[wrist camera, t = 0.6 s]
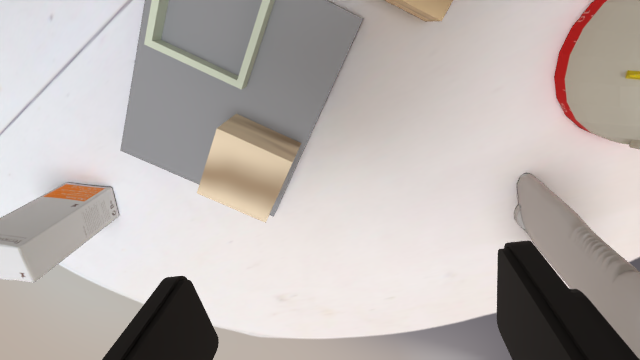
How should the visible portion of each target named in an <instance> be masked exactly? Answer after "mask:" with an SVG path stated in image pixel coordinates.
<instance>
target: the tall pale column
mask: <svg viewBox="0 0 640 360" xmlns="http://www.w3.org/2000/svg"><path fill="white" fill-rule="evenodd" d="M517 192H518V203H519V205H518V206H517V207H516V209H515V212H514V217H515V220H516V222H517V223H518V225H519V226H520V227H521V228H523V229H524V230H526V232H527V233H528V234H529V236H530V237H531V239H532V241H533V243H534V244H535V245H536V247H537V248H538V249H539V251H540V252H541V253H542V254H543V256H544V257H545V258H546V259H547V261H548V262H549V263H550V264H551V265H552V267H553V268H554V269H555V270H556V271H557V273H558V274H559V275H560V276H561V278H562V279H563V280H564V281H565V282H566V284H567V285H568V286H569V287H570V288H571V289H578V290H580V291H581V292H583V293H584V294H585V295H586V296H587V298H588V299H589V300H590V301H591V302H592V303H593V305H594V306H595V307H596V308H597V309H598V311H599V312H600V313H601V314H602V315H603V317H604V318H605V319H606V320H607V321H608V323H609V324H610V325H611V326H612V327H613V328H614V330H615V331H616V332H617V333H618V334H619V336H620V337H621V338H622V339H623V340H624V342H625V343H626V344H627V345H628V346H629V348H630V349H631V350H632V351H633V352H634V354H635V355H636V356H637V357H638V358H639V359H640V272H639V271H638V270H637V269H636V268H635V267H634V266H632V265H631V264H630V263H629V262H627V261H626V260H625V259H624V258H623V257H621V256H620V255H619V254H618V253H616V252H615V251H614V250H613V249H612V248H611V247H610V246H609V245H607V244H606V243H605V242H604V241H603V240H602V239H601V238H600V237H598V236H597V235H596V234H595V233H594V232H593V231H592V230H591V229H590V228H589V227H588V225H587V224H586V223H585V222H584V221H583V220H582V219H581V218H580V216H579V215H578V214H577V213H576V212H575V211H573V210H572V209H571V208H570V207H569V206H568V205H567V204H566V203H564V202H563V201H562V200H561V199H560V198H559V197H558V196H557V195H555V194H554V193H553V192H552V191H551V190H550V189H549V188H547V187H546V186H545V185H544V184H543V183H542V182H541V181H540V180H538V179H537V178H536V177H534V176H533V175H532V174H530V173H524V174H523V175H522V176H520V178H519V180H518V183H517Z"/></svg>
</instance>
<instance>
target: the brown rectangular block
mask: <svg viewBox="0 0 640 360" xmlns="http://www.w3.org/2000/svg"><path fill="white" fill-rule="evenodd" d="M300 145H301V143H300V142H297V141H295V140H293V139H291V138H289V137H287V136H284V135H282V134H280V133H278V132H276V131H273V130H271V129H269V128H267V127H265V126H263V125H260V124H258V123H256V122H254V121H252V120H249V119H247V118H245V117H243V116H241V115H238V114H235V115H234V116H233V117H231V118H230V119H228V120H227V121H226V122H224V123H223V124H222V125H220V126H219V127H218V128H217V129H216V132H215V136H214V139H213V142H212V145H211V149H210V152H209V155H208V159H207V162H206V165H205V168H204V172H203V175H202V178H201V181H200V185H199V188H198V191H197V193H198V194H200V195H202V196H205V197H207V198H209V199H212V200H214V201H216V202H219V203H221V204H223V205H226V206H228V207H230V208H233V209H235V210H237V211H240V212H242V213H244V214H247V215H249V216H251V217H254V218H256V219H258V220H261V221H263V222H265V223H266V221H267V218H268V216H269V214H270V212H271V210H272V208H273V205H274V203H275V201H276V199H277V197H278V195H279V192H280V190H281V188H282V186H283V183H284V181H285V179H286V177H287V174H288V172H289V170H290V168H291V165H292V163H293V161H294V159H295V156H296V154H297V152H298V150H299V147H300Z"/></svg>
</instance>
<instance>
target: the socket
mask: <svg viewBox="0 0 640 360" xmlns="http://www.w3.org/2000/svg"><path fill="white" fill-rule="evenodd" d="M274 1H275V0H262V3H261V6H260V9H259V12H258V15H257V19H256V22H255V25H254V28H253V31H252V35H251V38H250V41H249V44H248V47H247V50H246V54H245V57H244V60H243V63H242V66H241V70H240V73H239V76H237V75H235V74H233V73H231V72H229V71H227V70H224V69H222V68H220V67H218V66H216V65H214V64H212V63H209V62H207V61H205V60H203V59H201V58H199V57H197V56H195V55H192V54H190V53H188V52H186V51H184V50H182V49H180V48H178V47H175V46H173V45H171V44H169V43H167V42H165V41H163V40H161V38H162V33H163V28H164V22H165V17H166V12H167V7H168V2H169V0H152V1H151V7H150V13H149V19H148V25H147V30H146V36H145V42H144V45H147V46H149V47H151V48H153V49H155V50H157V51H160V52H162V53H164V54H166V55H168V56H170V57H172V58H175V59H177V60H179V61H181V62H183V63H185V64H187V65H190V66H192V67H194V68H196V69H198V70H200V71H202V72H205V73H207V74H209V75H211V76H213V77H215V78H218V79H220V80H222V81H224V82H226V83H228V84H230V85H233V86H235V87H237V88H239V89H243V88H245V87H246V86H247V83H248V80H249V77H250V74H251V71H252V68H253V65H254V62H255V59H256V56H257V53H258V50H259V47H260V44H261V41H262V38H263V35H264V32H265V29H266V26H267V23H268V20H269V17H270V14H271V11H272V8H273V4H274Z"/></svg>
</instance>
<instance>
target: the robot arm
mask: <svg viewBox="0 0 640 360" xmlns="http://www.w3.org/2000/svg"><path fill="white" fill-rule="evenodd" d="M497 324H498V328H499V331H500V333H501V336H502V338H503V340H504V342H505V344H506V346H507V349H508V351H509V353H510V355H511V357H512V359H513V360H640V359H639V358H638V357H637V356H636V355H635V354H634V352H633V351H632V350H631V349H630V348H629V346H628V345H627V344H626V343H625V342H624V340H623V339H622V338H621V337H620V336H619V334H618V333H617V332H616V331H615V330H614V328H613V327H612V326H611V325H610V324H609V323H608V321H607V320H606V319H605V318H604V317H603V315H602V314H601V313H600V312H599V311H598V309H597V308H596V307H595V306H594V305H593V303H592V302H591V301H590V300H589V299H588V298H587V296H586V295H585V294H584V293H583V292H581V291H580V290H578V289H569V288H568V287H567V286H566V285H565V283H564V282H563V281H562V280H561V278H560V277H559V276H558V275H557V273H556V272H555V271H554V270H553V268H552V267H551V266H550V265H549V263H548V262H547V261H546V260H545V258H544V257H543V256H542V255H541V253H540V252H539V251H538V250H537V248H536V247H535V246H534V245H533V243H532V242H531V241H521V242H511V243H506V244H505V246H504V249H499V250H498V278H497ZM217 348H218V336H217V334H216V332H215V330H214V328H213V326H212V323H211V321H210V319H209V317H208V315H207V313H206V311H205V309H204V307H203V305H202V303H201V301H200V298H199V296H198V294H197V292H196V290H195V288H194V286H193V284H192V282H191V281H190V280H187V278H186V277H184V276H176V277H167V278H165V279H164V280H162V282H161V283H160V284H159V286H158V287H157V288H156V290H155V291H154V292H153V293H152V295H151V296H150V297H149V299H148V300H147V301H146V303H145V304H144V305H143V307H142V308H141V309H140V311H139V312H138V313H137V315H136V316H135V317H134V319H133V320H132V321H131V323H130V324H129V325H128V327H127V328H126V329H125V330H124V332H123V333H122V334H121V336H120V337H119V338H118V340H117V341H116V342H115V343H114V345H113V346H112V347H111V349H110V350H109V351H108V353H107V354H106V355H105V357H104V358H103V359H102V360H213V358H214V355H215V353H216V351H217Z"/></svg>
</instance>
